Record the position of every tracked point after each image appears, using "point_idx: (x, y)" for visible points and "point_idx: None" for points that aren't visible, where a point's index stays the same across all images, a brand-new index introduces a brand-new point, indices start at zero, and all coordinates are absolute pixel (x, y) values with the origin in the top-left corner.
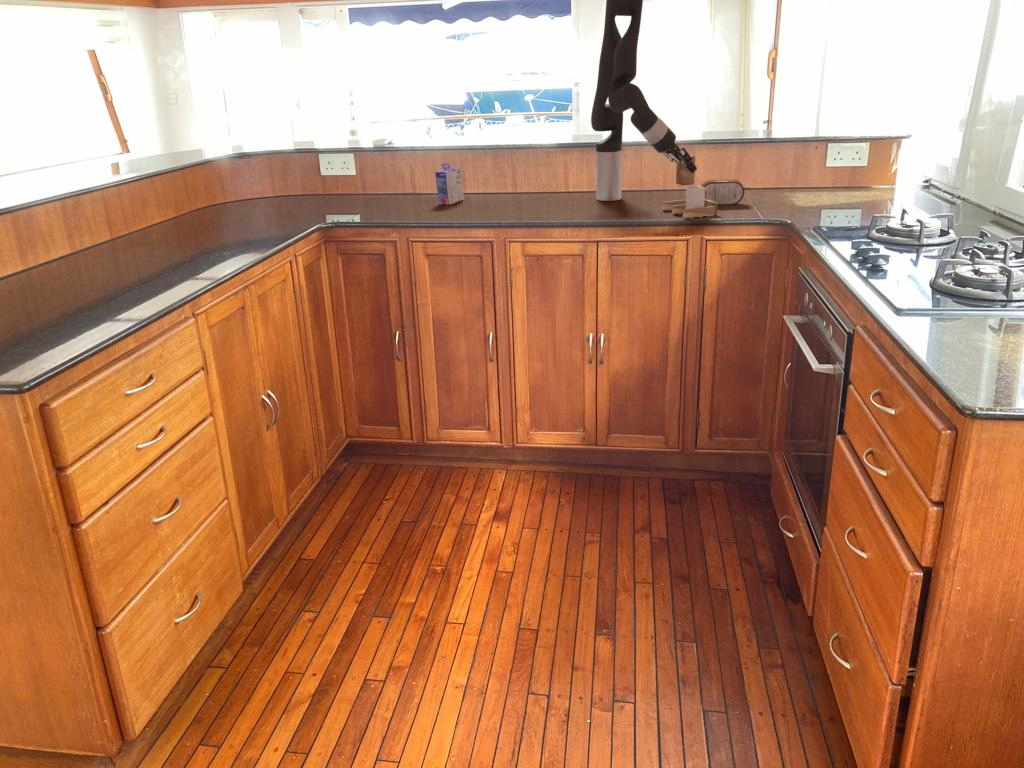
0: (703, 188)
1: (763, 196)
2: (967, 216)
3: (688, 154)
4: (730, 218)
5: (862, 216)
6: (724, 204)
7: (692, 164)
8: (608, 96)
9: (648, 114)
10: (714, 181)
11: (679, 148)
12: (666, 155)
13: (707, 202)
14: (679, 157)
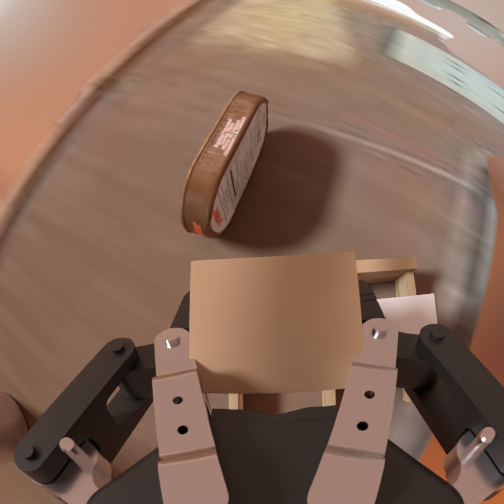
0: (433, 302)
1: (197, 72)
2: (455, 11)
3: (490, 378)
4: (449, 253)
5: (455, 56)
6: (250, 177)
7: (380, 312)
8: None
9: None
10: (219, 160)
11: (456, 488)
12: (114, 451)
13: (359, 274)
14: (253, 391)
